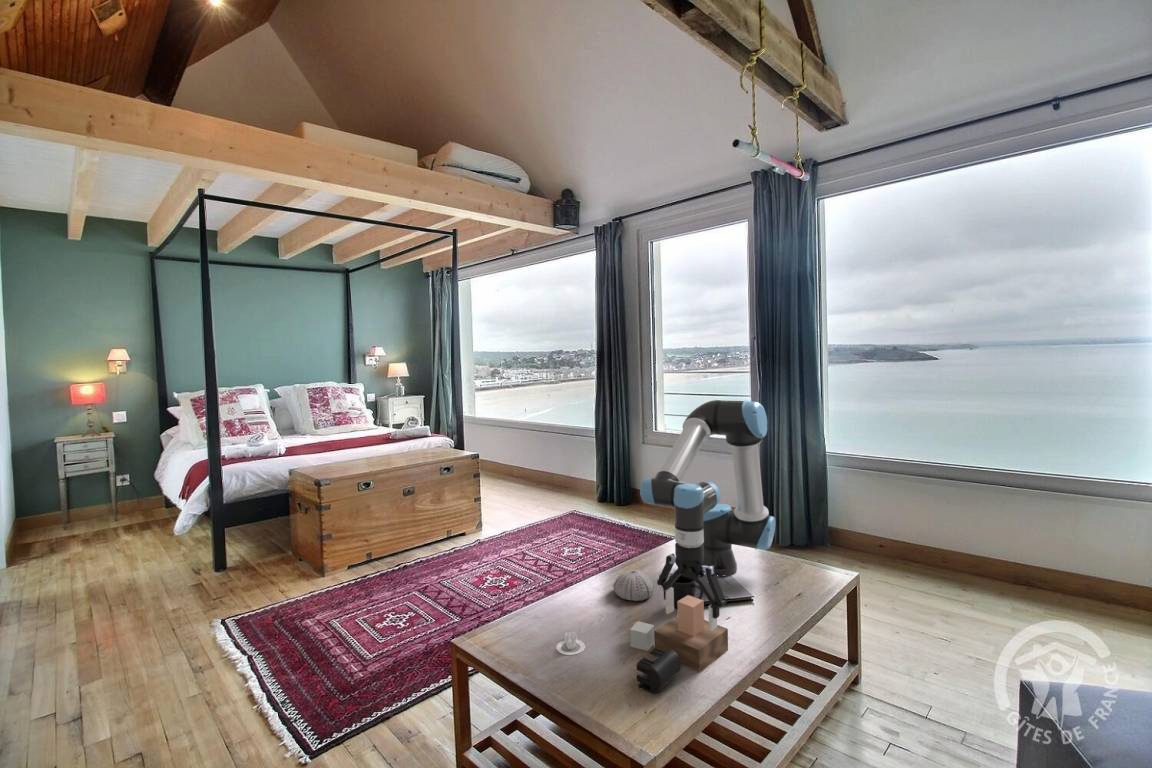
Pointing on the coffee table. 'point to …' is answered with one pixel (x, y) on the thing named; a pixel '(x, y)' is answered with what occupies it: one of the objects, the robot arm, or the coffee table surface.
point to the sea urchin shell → (633, 585)
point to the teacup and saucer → (570, 644)
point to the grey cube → (642, 635)
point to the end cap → (658, 670)
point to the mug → (684, 589)
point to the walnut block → (693, 644)
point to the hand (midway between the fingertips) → (690, 620)
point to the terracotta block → (690, 615)
